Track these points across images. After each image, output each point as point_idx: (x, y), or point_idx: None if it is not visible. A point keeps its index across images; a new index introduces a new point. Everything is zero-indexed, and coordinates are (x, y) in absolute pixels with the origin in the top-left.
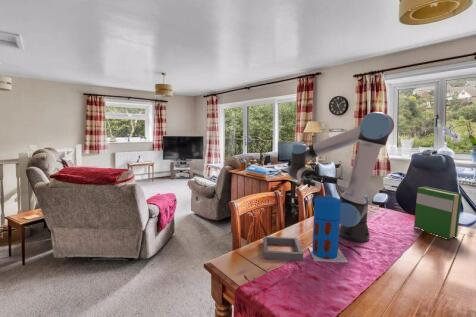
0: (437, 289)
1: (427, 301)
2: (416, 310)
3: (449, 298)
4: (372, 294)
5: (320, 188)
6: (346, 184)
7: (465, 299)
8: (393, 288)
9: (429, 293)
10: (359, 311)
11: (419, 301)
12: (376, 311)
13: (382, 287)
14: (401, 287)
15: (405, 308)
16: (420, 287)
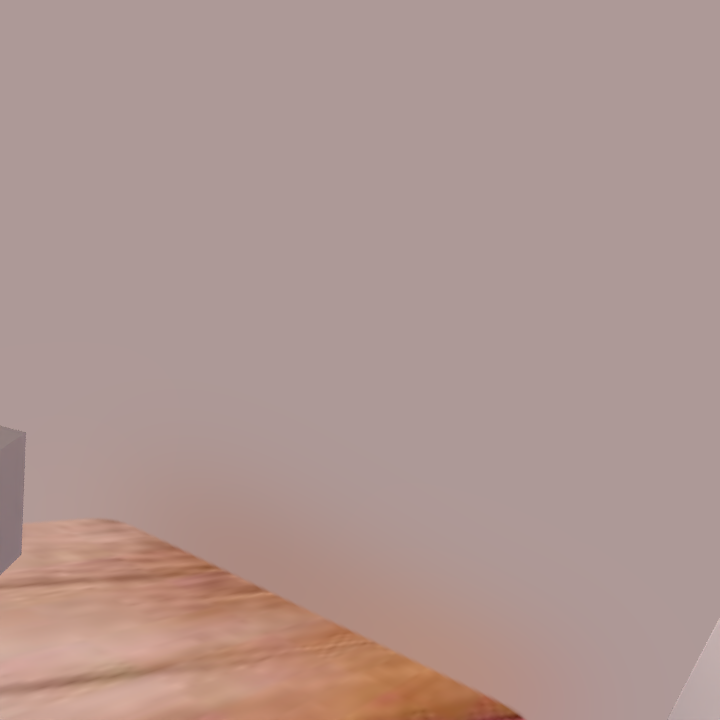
0: (25, 591)
1: (164, 589)
2: (257, 593)
3: (70, 558)
4: (317, 710)
5: (684, 712)
6: (17, 492)
7: (31, 533)
8: (182, 685)
9: (92, 599)
10: (453, 684)
11: (190, 602)
12: (393, 655)
13: (220, 714)
14: (140, 670)
15: (280, 613)
16: (66, 629)
